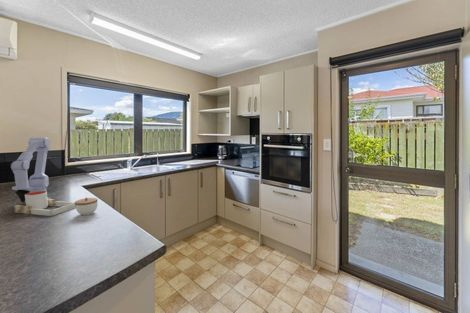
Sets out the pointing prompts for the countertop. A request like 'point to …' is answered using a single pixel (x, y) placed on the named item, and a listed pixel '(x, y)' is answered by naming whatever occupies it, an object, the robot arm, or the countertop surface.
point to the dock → (63, 207)
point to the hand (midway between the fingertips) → (24, 201)
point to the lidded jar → (86, 206)
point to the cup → (37, 199)
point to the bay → (28, 208)
